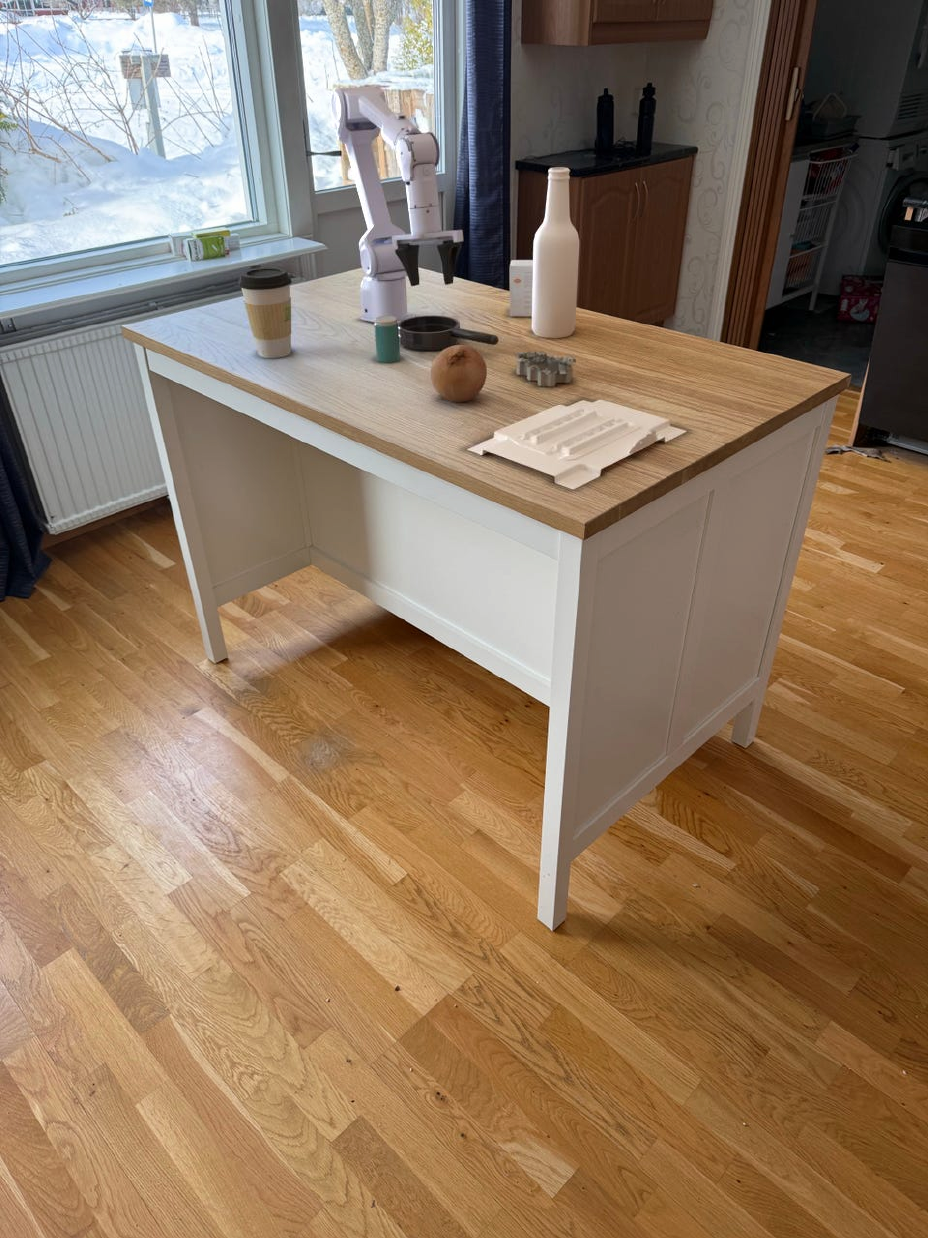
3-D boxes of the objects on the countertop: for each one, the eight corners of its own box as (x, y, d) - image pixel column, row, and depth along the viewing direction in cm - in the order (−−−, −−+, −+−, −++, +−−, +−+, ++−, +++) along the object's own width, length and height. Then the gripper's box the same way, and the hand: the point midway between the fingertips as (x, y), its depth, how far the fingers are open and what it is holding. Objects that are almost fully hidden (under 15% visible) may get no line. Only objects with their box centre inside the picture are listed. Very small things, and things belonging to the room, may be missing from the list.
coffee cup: (310, 348, 176) (300, 268, 168) (281, 363, 169) (270, 280, 160) (268, 343, 180) (257, 264, 171) (238, 357, 172) (225, 276, 164)
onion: (465, 423, 150) (465, 380, 141) (420, 399, 153) (417, 355, 144) (497, 388, 154) (499, 344, 145) (452, 365, 156) (451, 321, 148)
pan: (386, 344, 177) (385, 326, 175) (425, 329, 185) (424, 312, 183) (434, 355, 171) (433, 336, 169) (472, 339, 179) (472, 321, 177)
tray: (465, 449, 133) (465, 425, 131) (581, 405, 150) (583, 383, 148) (573, 490, 121) (576, 464, 119) (686, 437, 138) (690, 414, 136)
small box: (547, 309, 196) (548, 259, 190) (546, 317, 191) (548, 265, 185) (510, 309, 197) (510, 259, 191) (508, 316, 192) (509, 265, 186)
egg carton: (577, 382, 157) (579, 359, 155) (540, 389, 154) (541, 366, 152) (546, 365, 165) (547, 342, 163) (510, 371, 162) (511, 349, 160)
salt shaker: (372, 359, 169) (369, 319, 165) (387, 353, 172) (384, 314, 168) (389, 364, 167) (387, 323, 163) (404, 357, 170) (402, 317, 166)
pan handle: (448, 337, 173) (448, 327, 172) (454, 334, 175) (453, 325, 174) (494, 346, 168) (494, 337, 167) (500, 344, 169) (500, 334, 168)
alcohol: (569, 340, 177) (577, 172, 161) (526, 336, 180) (529, 171, 163) (579, 327, 184) (587, 165, 167) (537, 324, 187) (542, 164, 170)
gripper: (379, 211, 166) (389, 288, 172) (446, 205, 159) (454, 286, 165) (399, 208, 172) (408, 283, 178) (465, 202, 165) (472, 280, 171)
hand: (431, 284), depth 172 cm, fingers open, 7 cm apart
